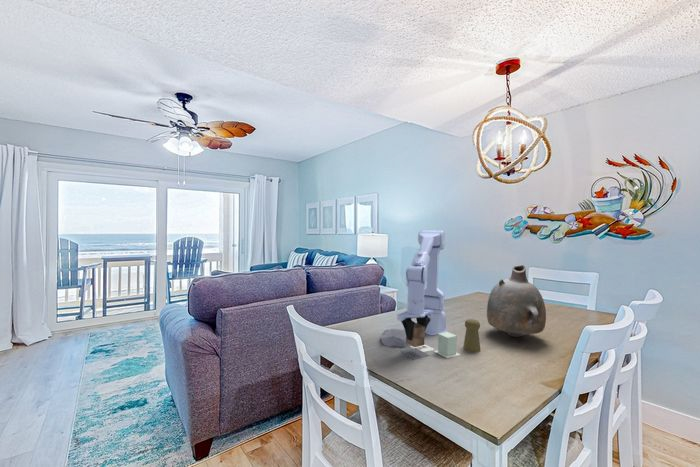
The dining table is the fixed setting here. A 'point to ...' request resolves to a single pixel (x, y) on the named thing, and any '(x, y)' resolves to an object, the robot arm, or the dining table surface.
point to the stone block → (394, 337)
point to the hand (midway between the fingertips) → (415, 338)
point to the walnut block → (417, 336)
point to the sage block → (447, 343)
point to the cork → (472, 336)
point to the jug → (516, 305)
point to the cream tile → (423, 348)
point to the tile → (446, 356)
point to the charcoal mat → (414, 353)
